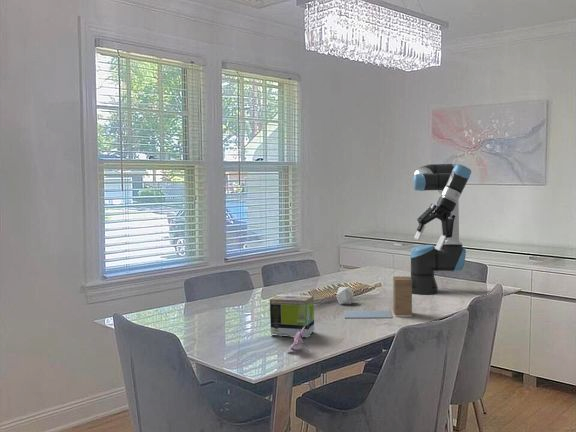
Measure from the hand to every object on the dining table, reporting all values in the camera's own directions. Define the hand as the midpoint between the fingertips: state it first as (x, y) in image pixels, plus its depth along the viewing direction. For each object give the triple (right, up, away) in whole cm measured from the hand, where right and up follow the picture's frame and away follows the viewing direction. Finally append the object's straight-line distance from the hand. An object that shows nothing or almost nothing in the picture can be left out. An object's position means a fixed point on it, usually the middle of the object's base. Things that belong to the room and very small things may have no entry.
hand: (426, 244), depth 256 cm
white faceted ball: (-33, -29, +25) cm, 50 cm away
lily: (-56, -36, -44) cm, 79 cm away
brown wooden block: (-10, -30, +2) cm, 32 cm away
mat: (-25, -31, +3) cm, 40 cm away
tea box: (-58, -34, -24) cm, 71 cm away
